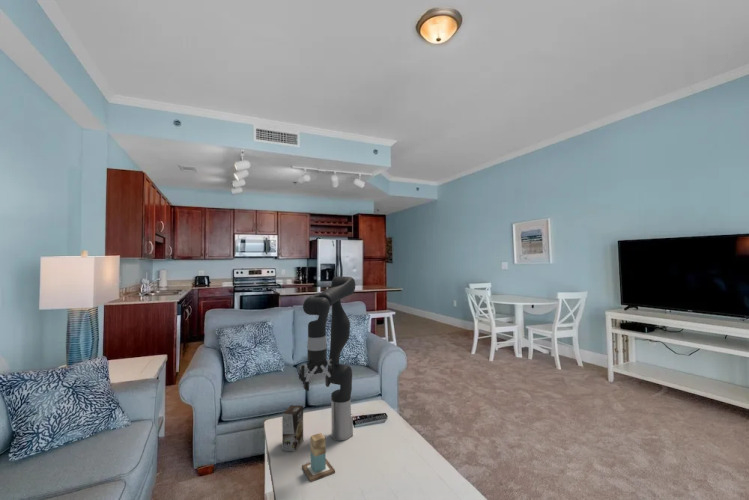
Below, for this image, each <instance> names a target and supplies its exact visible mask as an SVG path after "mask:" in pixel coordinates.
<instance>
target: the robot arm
mask: <svg viewBox="0 0 749 500" xmlns="http://www.w3.org/2000/svg"><path fill="white" fill-rule="evenodd" d="M355 290H356V280H355V279H354V277H352V276H342V275H341V276H334V277H333V278H332V281H331V286H330V287H329V288H327V289H324V290H323V291H322V292H320V293H316V294H314V295H313V294H312V295H310V296H308V297H307V298H306V299H305V300H304V301H303V304H302V309H303V310H302V311H304V313H305V314H306V315H310V316H313V315H314V316H318V318H317V319H316V320H311V321H309V322H308V323H307V342H306V343H307V344H306V348H307V363H304V364H303V363H300V364H299V367H298V368H299V370H298V371H299V372H298V379H299V380H300V381H301V382H303V389H304V391H306V392H309V391H310V382H309V380H310V379H311V378H312V377H313V375H317V374H322V373H324V375H325V378H324V379H325V386H326V388H328V387H330V385H331V384H332V385H333V384H334V385H338V386H339V389H335V390H333V392H331V395H330V398H331V401H330V402H331V403H330V405H331V406H330V407H331V408H330V409H331V410H330V412H331V413H330V414H331V438H332V439H333V440H335V441H346V440H349V439H350V438H351V437H352V436H354V427H353V425H354V424H353V423H354V422H353V421H354V416H353V414H352V404H351V403H352V397H351V395H352V390H353V370H352V368H351V365H348V364H343V363H340V356H341V353H342V351H343V350H344V349H343V348H344V347H345V345H346V344H347V343H348V341H349V339H350V335H351V333H350V332H351V323H350V322H351V321H350V318H349V317H348V315H347V314H346V312H345V310H344V309H343V305H342V301H341V300H342V299H344V298H346V297H348V296H351V295H353V294H354V293H355ZM330 309H331V320H330V321H331V322H330V347H329V357H328V355H327V354H328V353H327V337H326V335H327V334H326V332H327V331H326V330H327V329H326V325H327V319H328V316H329V313H330ZM327 357H328V359H327ZM326 367H327V368H326ZM306 369H308V370H307V371H306ZM305 371H306V372H305Z"/></svg>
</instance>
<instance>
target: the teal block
mask: <svg viewBox="0 0 749 500" xmlns="http://www.w3.org/2000/svg"><path fill="white" fill-rule="evenodd" d="M326 459H327V457H326V453H325V454H322V455H319V456H316V457H314V455H313V454H312V452H311V451H310V463H311V468H312V469H313V471H314V472H318V471H321V470H324V469H326Z"/></svg>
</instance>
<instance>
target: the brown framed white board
mask: <svg viewBox="0 0 749 500" xmlns="http://www.w3.org/2000/svg"><path fill="white" fill-rule="evenodd" d="M301 469H302V470H303V472H304V474H305V476H306V477H307V479H308V481H309V482H310V483H313V482H314V481H317V480H320V479H323V478H325V477H328V476H330V475H333V474H336V470H335V468H334V467H333V465H331V463H330V462H329V461H328V459H327V458H326V469H324V470H321V471H318V472H314V471H313V469H312V468H311V462H307V463H306V464H303V465H301Z"/></svg>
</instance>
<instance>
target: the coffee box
mask: <svg viewBox="0 0 749 500" xmlns="http://www.w3.org/2000/svg"><path fill="white" fill-rule="evenodd" d="M281 414H282V417H281V418H282V419H281V420H282V421H281V422H282V424H281V425H282V428H281V431H282V440H281V441H282V447H281V448H282V449H281V450H282V451H286V452H296V451H297V450H298V449H299V448H300V446H301V445H302V443H303V442H304V405H290V406H289V407H288V408H287V409H285V411H283V413H281Z"/></svg>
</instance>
